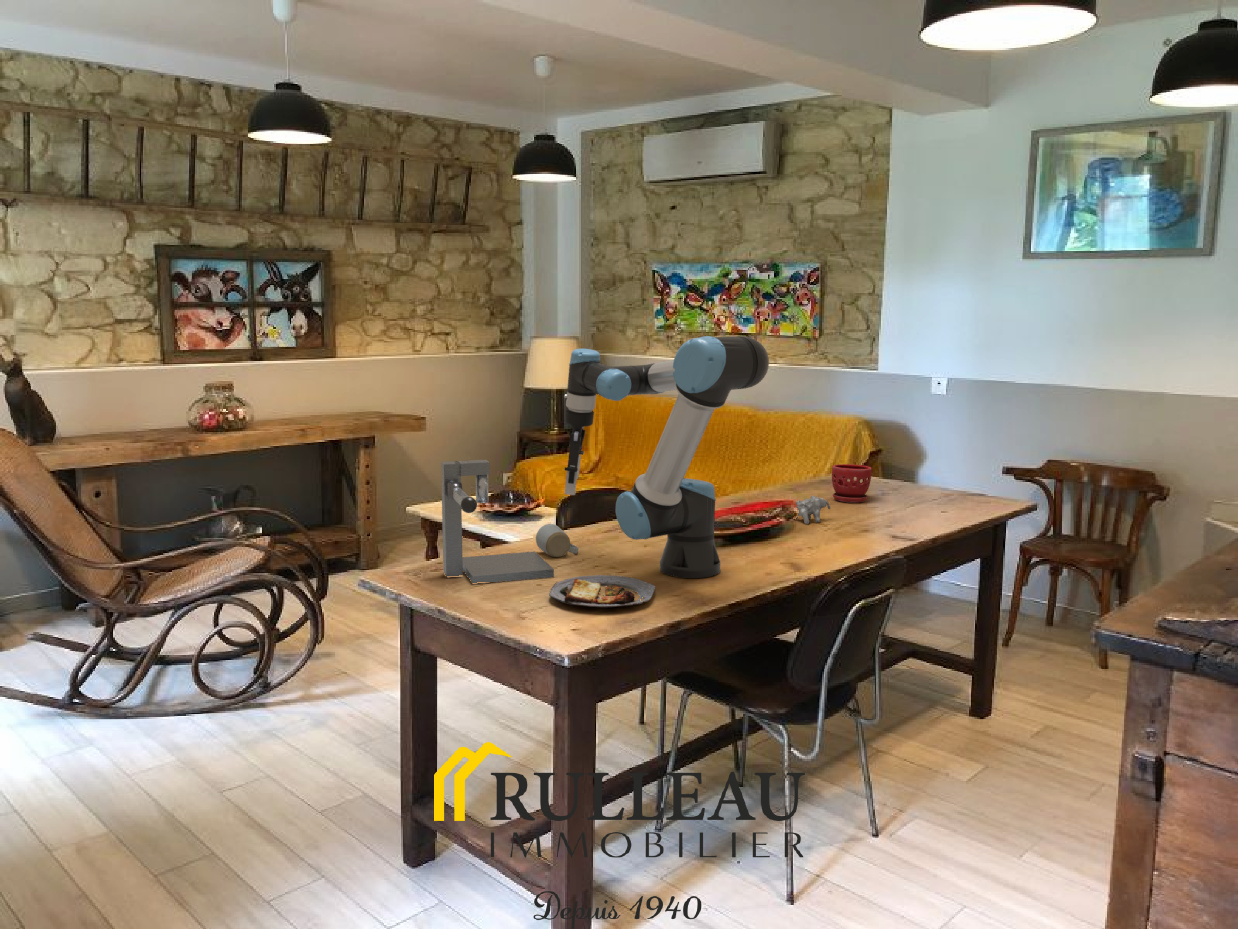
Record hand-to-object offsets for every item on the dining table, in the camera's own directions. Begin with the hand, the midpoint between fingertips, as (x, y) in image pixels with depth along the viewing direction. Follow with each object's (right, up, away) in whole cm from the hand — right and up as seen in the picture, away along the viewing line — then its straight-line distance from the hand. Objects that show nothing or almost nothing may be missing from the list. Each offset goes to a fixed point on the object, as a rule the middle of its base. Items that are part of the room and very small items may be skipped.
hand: (571, 486), depth 257 cm
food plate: (+9, -25, -37) cm, 45 cm away
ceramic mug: (-4, -18, +1) cm, 19 cm away
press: (-18, -21, -17) cm, 33 cm away
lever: (-23, -4, -36) cm, 43 cm away
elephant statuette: (+72, -12, +43) cm, 85 cm away
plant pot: (+92, -7, +74) cm, 118 cm away
